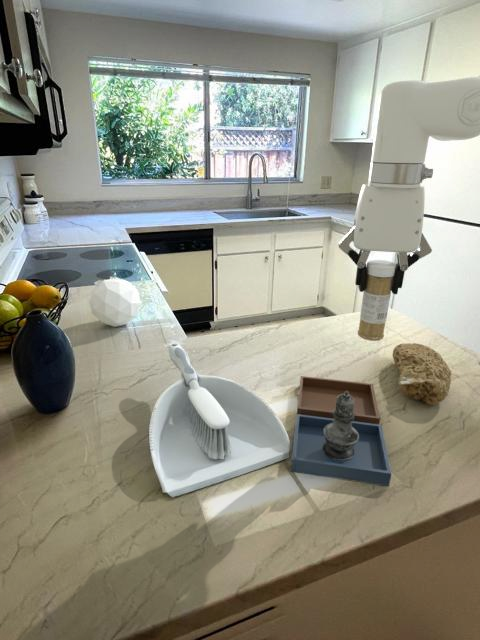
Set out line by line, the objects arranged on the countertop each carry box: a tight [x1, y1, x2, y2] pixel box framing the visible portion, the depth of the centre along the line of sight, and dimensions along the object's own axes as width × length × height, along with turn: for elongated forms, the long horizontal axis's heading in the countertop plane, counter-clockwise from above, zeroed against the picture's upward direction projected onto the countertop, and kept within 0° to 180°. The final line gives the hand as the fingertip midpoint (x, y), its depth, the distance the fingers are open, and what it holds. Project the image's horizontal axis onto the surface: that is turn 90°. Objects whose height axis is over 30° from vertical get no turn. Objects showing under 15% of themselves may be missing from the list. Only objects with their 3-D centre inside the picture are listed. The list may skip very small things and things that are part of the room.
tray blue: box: [290, 413, 392, 487], centre depth 69 cm, size 15×12×2 cm
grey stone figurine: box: [323, 391, 359, 461], centre depth 67 cm, size 6×6×12 cm
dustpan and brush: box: [148, 342, 292, 499], centre depth 75 cm, size 23×33×10 cm
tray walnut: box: [296, 375, 381, 425], centre depth 81 cm, size 15×12×2 cm
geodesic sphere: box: [88, 275, 141, 328], centre depth 115 cm, size 15×14×14 cm
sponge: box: [391, 342, 452, 406], centre depth 90 cm, size 13×8×20 cm
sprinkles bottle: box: [357, 259, 396, 342], centre depth 69 cm, size 5×5×13 cm
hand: (377, 289), depth 68 cm, fingers closed on sprinkles bottle, 4 cm apart
